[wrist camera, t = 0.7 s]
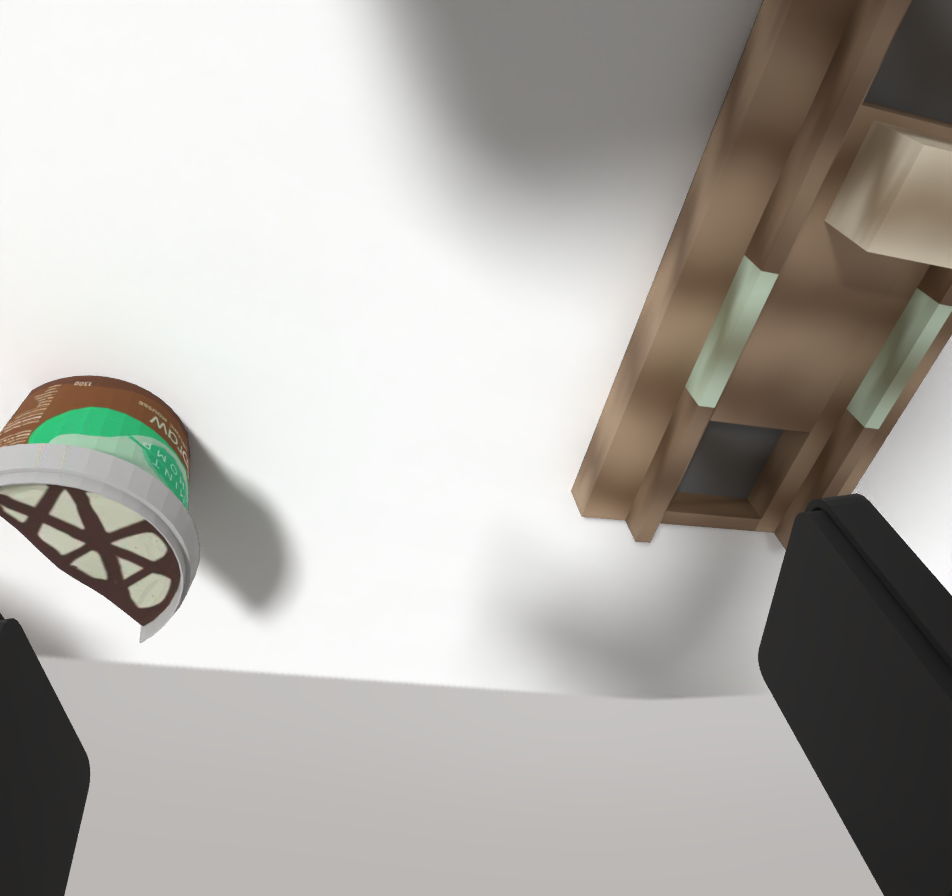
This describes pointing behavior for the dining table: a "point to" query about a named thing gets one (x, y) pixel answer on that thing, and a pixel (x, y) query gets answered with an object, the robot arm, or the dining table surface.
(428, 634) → the dining table surface
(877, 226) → the block
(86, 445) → the food container
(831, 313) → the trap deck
